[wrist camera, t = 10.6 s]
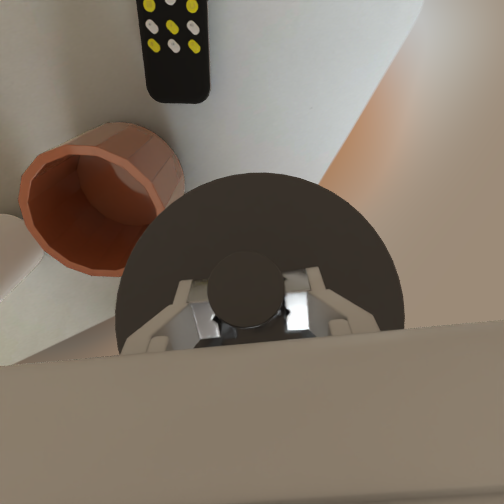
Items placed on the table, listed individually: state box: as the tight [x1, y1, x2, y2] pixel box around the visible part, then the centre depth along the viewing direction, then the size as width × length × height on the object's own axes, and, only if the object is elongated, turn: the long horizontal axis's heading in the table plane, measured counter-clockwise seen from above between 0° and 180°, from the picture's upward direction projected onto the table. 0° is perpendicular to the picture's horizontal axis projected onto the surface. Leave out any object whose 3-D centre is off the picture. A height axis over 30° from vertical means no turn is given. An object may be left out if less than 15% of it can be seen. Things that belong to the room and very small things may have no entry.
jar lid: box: [115, 173, 405, 354], centre depth 14 cm, size 14×14×6 cm
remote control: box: [136, 0, 211, 104], centre depth 32 cm, size 6×13×2 cm, turn 179°
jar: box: [18, 122, 185, 277], centre depth 35 cm, size 13×13×10 cm
